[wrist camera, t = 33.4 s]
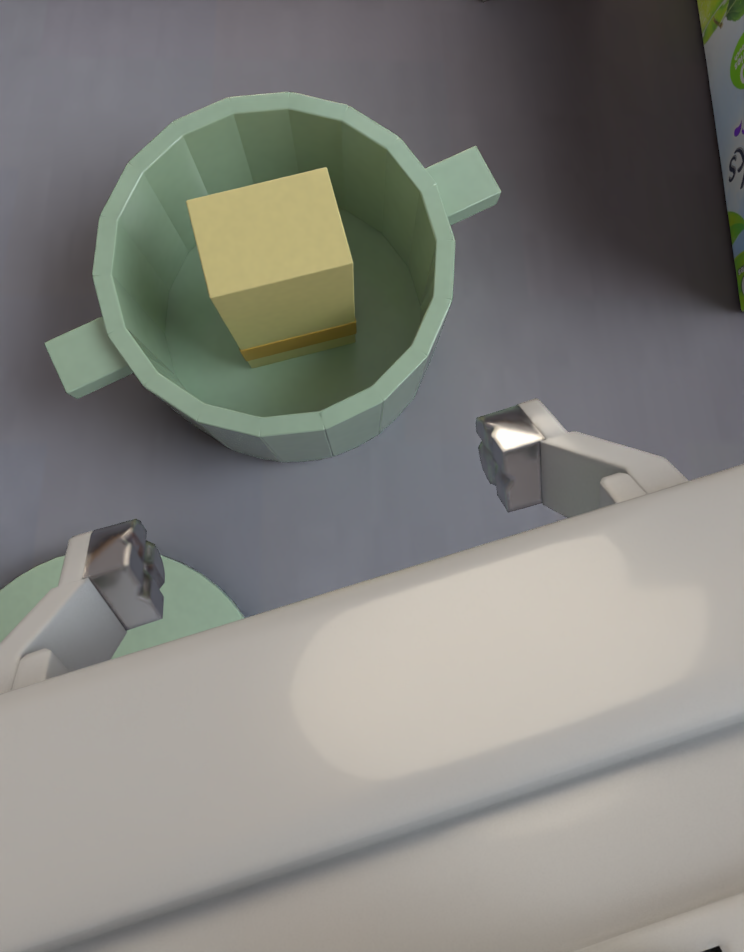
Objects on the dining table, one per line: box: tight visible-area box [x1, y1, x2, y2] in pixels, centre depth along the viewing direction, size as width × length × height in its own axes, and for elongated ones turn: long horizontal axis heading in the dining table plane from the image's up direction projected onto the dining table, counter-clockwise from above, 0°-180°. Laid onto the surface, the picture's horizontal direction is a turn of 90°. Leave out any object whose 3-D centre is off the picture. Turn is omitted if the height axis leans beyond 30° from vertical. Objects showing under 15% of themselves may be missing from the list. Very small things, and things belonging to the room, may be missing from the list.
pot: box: [44, 92, 501, 462], centre depth 29 cm, size 15×20×8 cm
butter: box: [186, 167, 357, 368], centre depth 28 cm, size 4×6×9 cm
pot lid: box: [0, 555, 245, 659], centre depth 28 cm, size 16×16×5 cm
